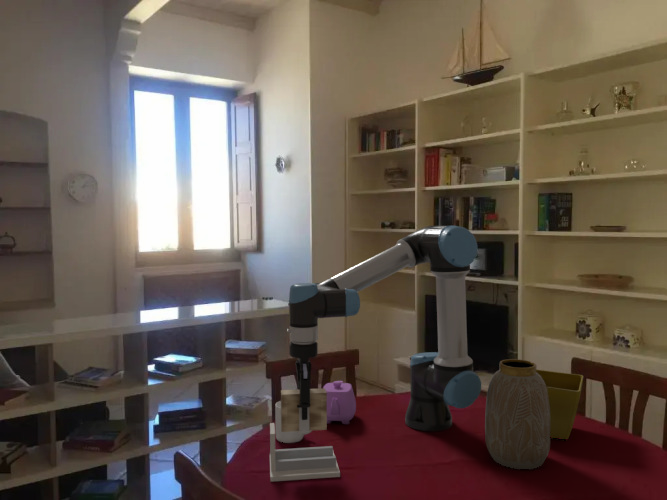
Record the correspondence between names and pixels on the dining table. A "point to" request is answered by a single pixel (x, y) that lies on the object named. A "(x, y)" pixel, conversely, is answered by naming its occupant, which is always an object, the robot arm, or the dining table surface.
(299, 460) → the white stand
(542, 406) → the vase
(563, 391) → the flower pot
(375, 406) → the dining table surface
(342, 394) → the teapot
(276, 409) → the mug
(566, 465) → the dining table surface
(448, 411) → the robot arm
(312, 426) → the door panel
